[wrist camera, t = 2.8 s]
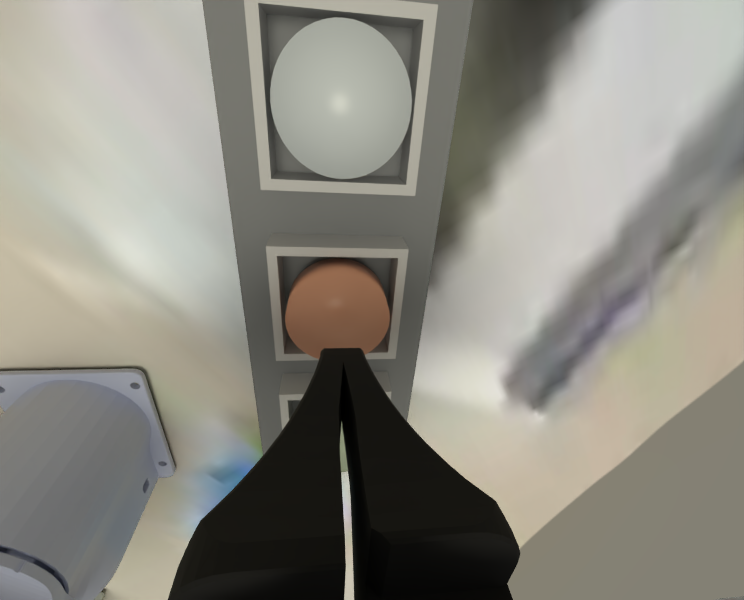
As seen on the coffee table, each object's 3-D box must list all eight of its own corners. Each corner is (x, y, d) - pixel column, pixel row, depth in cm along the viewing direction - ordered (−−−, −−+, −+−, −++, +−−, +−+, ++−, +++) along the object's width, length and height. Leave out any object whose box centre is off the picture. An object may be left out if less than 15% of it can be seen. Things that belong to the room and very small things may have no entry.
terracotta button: (381, 340, 18) (385, 361, 16) (291, 341, 17) (288, 362, 16) (388, 258, 16) (394, 274, 14) (286, 257, 15) (282, 273, 14)
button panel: (397, 426, 25) (406, 472, 22) (268, 431, 24) (259, 480, 21) (458, -7, 14) (496, -37, 11) (213, -35, 13) (175, -78, 9)
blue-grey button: (396, 173, 14) (403, 181, 12) (281, 167, 13) (275, 176, 12) (409, 33, 12) (420, 25, 10) (271, 20, 11) (263, 9, 10)
